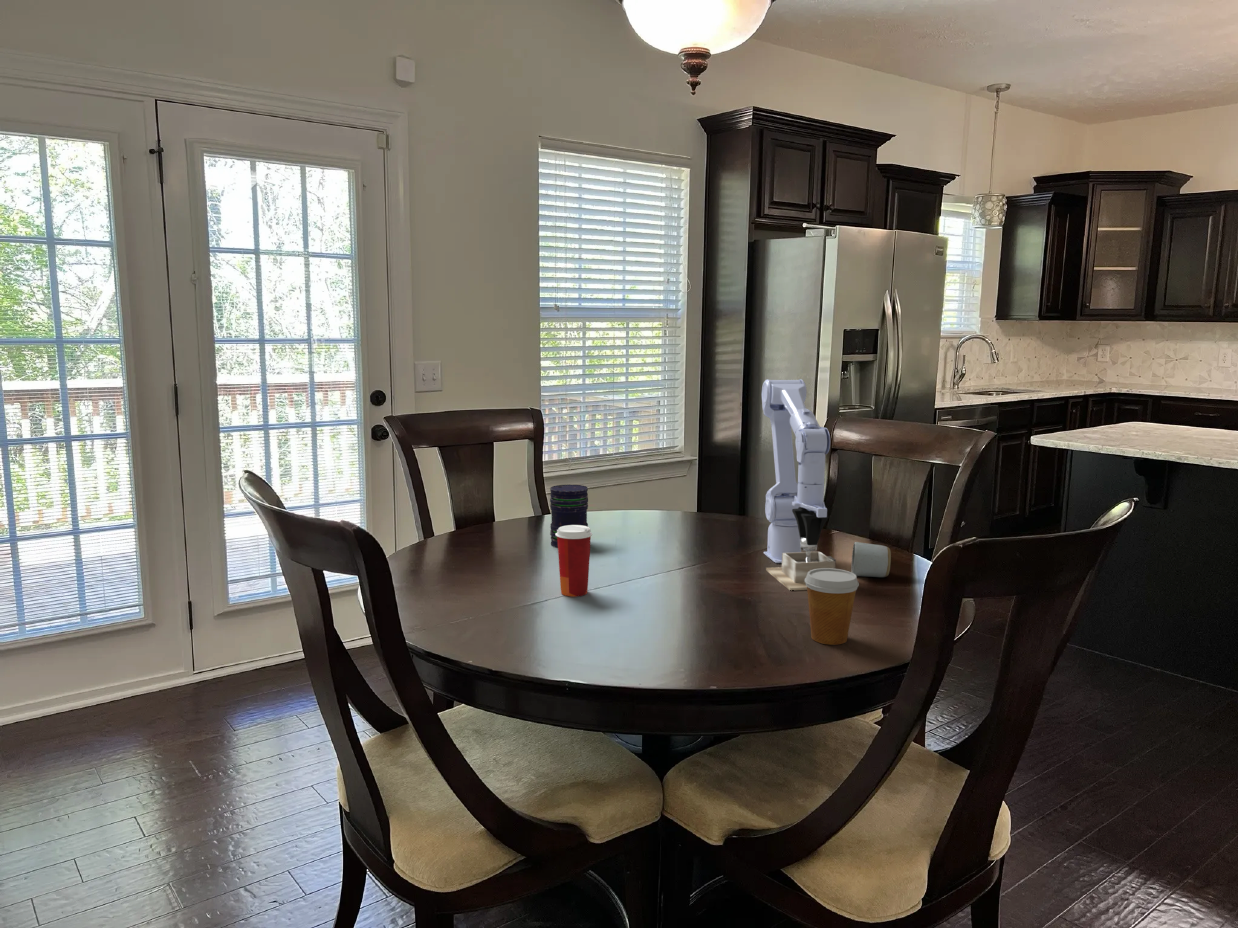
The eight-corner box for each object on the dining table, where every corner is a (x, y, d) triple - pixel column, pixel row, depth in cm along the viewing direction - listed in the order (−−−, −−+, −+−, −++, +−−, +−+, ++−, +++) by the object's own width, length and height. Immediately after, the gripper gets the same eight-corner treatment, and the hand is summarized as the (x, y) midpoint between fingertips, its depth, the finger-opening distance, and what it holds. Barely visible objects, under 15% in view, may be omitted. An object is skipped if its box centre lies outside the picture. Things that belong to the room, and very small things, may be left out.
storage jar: (595, 542, 225) (595, 486, 223) (573, 550, 217) (573, 492, 215) (564, 537, 231) (564, 483, 228) (542, 545, 223) (542, 488, 220)
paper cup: (597, 589, 185) (597, 525, 183) (584, 599, 178) (584, 533, 176) (563, 585, 187) (563, 523, 185) (549, 595, 180) (549, 530, 178)
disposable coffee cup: (795, 630, 160) (798, 567, 158) (845, 629, 161) (848, 566, 159) (811, 649, 151) (814, 582, 149) (864, 647, 151) (867, 581, 150)
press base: (766, 570, 200) (766, 549, 199) (823, 568, 202) (824, 547, 201) (789, 590, 185) (790, 568, 184) (851, 587, 187) (852, 565, 186)
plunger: (788, 563, 196) (789, 535, 195) (816, 562, 197) (817, 534, 196) (798, 571, 189) (799, 542, 188) (827, 570, 190) (828, 541, 189)
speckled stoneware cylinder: (890, 581, 192) (892, 547, 191) (852, 579, 193) (854, 545, 192) (885, 569, 202) (886, 537, 201) (849, 567, 204) (850, 535, 202)
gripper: (782, 477, 196) (780, 535, 199) (805, 488, 182) (803, 551, 184) (812, 476, 198) (809, 534, 200) (837, 488, 183) (834, 550, 185)
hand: (808, 542), depth 192 cm, fingers closed on plunger, 4 cm apart
